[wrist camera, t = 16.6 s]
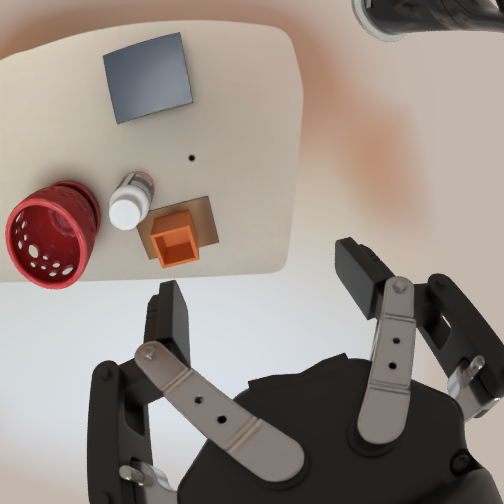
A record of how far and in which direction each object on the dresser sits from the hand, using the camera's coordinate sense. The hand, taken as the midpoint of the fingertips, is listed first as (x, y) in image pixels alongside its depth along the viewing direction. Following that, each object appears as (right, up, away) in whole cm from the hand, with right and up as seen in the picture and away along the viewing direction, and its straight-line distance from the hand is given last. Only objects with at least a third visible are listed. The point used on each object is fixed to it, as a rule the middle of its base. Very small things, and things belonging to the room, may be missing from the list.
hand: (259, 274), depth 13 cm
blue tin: (-14, +24, +17) cm, 32 cm away
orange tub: (-12, +4, +29) cm, 31 cm away
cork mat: (-12, +5, +29) cm, 32 cm away
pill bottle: (-17, +10, +25) cm, 32 cm away
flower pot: (-29, +8, +23) cm, 38 cm away
